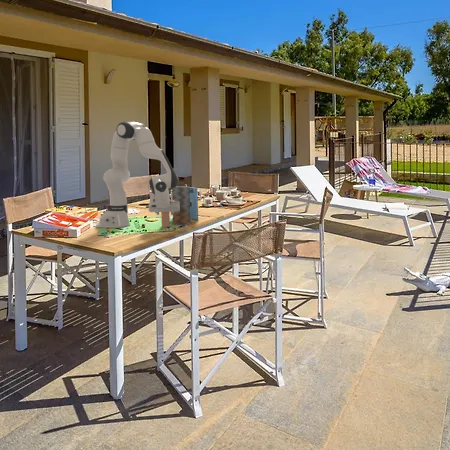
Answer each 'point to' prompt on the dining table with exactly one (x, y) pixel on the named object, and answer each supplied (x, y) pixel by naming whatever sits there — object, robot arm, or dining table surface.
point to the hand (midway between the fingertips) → (165, 213)
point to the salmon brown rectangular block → (165, 219)
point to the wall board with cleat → (182, 205)
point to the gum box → (193, 203)
